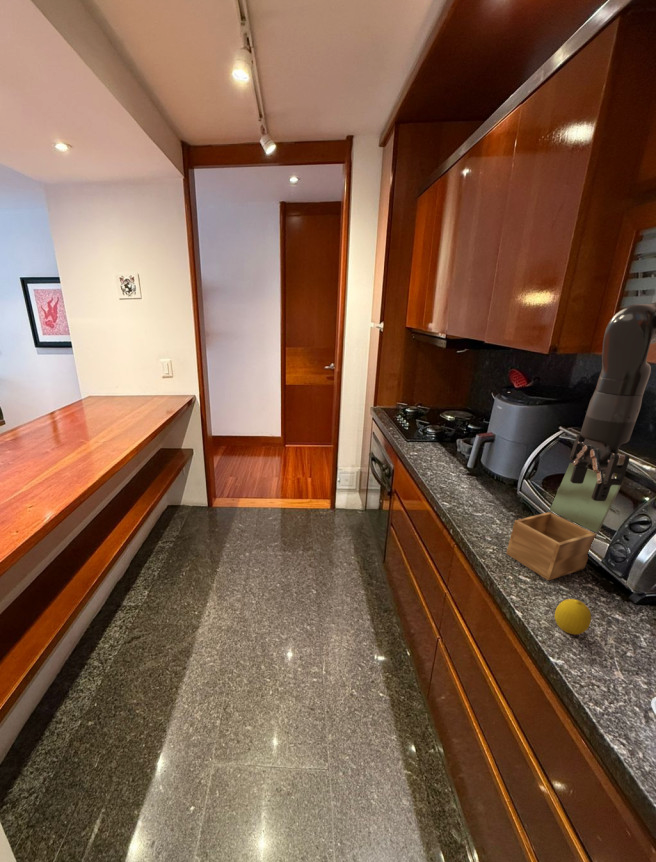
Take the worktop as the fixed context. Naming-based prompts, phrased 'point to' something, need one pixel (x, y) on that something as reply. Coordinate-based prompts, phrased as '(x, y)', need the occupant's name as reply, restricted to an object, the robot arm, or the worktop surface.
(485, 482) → the worktop surface
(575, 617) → the lemon
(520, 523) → the box
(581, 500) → the caddy lid
